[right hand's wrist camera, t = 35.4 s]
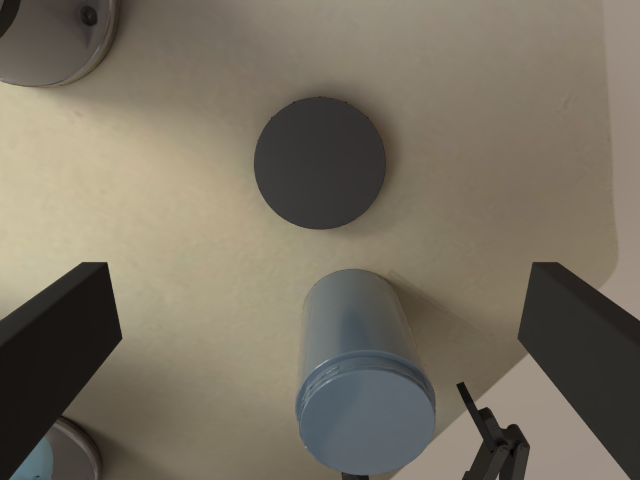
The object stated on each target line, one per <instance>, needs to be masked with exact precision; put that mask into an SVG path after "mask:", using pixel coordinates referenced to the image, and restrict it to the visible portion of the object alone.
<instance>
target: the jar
mask: <svg viewBox="0 0 640 480" xmlns="http://www.w3.org/2000/svg"><path fill="white" fill-rule="evenodd" d="M435 411H436V410H435V394H434V390H433V387H432V385H431V382H430V379H429V377H428V374H427V371H426V369H425V366H424V364H423V361H422V358H421V356H420V353H419V351H418V348H417V345H416V343H415V340H414V337H413V335H412V332H411V330H410V327H409V324H408V322H407V319H406V316H405V314H404V311H403V309H402V306H401V303H400V301H399V298H398V296H397V294H396V292H395V290H394V289H393V287H392V286H391V285H390V284H389V283H388V282H387V281H386V280H384V279H383V278H382V277H380V276H378V275H376V274H374V273H371V272H368V271H364V270H358V269H348V270H342V271H338V272H335V273H332V274H330V275H328V276H326V277H324V278H323V279H321V280H320V281H318V282H317V283H316V284H315V285H314V286H313V288H312V289H311V290H310V291H309V293H308V295H307V297H306V299H305V302H304V305H303V313H302V326H301V339H300V351H299V364H298V377H297V389H296V402H295V412H296V417H297V421H298V424H299V430H300V436H301V438H302V440H303V442H304V444H305V447H306V449H307V450H308V451H309V452H310V453H311V454H312V455H313V456H314V457H315V459H316V460H318V461H319V462H321V463H323V464H324V465H326V466H327V467H330V468H333V469H335V470H337V471H340V472H344V473H348V474H354V475H377V474H382V473H387V472H390V471H393V470H396V469H398V468H401V467H403V466H405V465H406V464H408V463H410V462H411V461H413V460H414V459H415V458H416V457H418V456H419V455H420V454H421V453H422V452H423V450H424V449H425V448H426V447H427V445H428V444H429V442H430V440H431V438H432V435H433V432H434V428H435Z"/></svg>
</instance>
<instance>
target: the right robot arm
mask: <svg viewBox="0 0 640 480" xmlns="http://www.w3.org/2000/svg"><path fill="white" fill-rule="evenodd" d="M119 8H120V0H0V81H2V82H5V83H9V84H12V85H18V86H26V87H55V86H61V85H65V84H69V83H71V82H74V81H76V80H78V79H80V78H82V77H84V76H85V75H87V74H88V73H89V72H91V71H92V70H93V69H94V68H95V67H96V66H97V65H98V64H99V63H100V62H101V61H102V59H103V58H104V56H105V55H106V53H107V52H108V50H109V48H110V46H111V44H112V41H113V39H114V36H115V33H116V29H117V25H118V19H119ZM121 340H122V333H121V329H120V324H119V319H118V314H117V309H116V304H115V299H114V294H113V289H112V284H111V279H110V274H109V269H108V264H107V262H82V263H81V264H79V265H78V266H76V267H75V268H74V269H72V270H71V271H69V272H68V273H67V274H65V275H64V276H62V277H61V278H60V279H58V280H57V281H55V282H54V283H53V284H51V285H50V286H48V287H47V288H46V289H44V290H43V291H41V292H40V293H39V294H37V295H36V296H34V297H33V298H32V299H30V300H29V301H27V302H26V303H25V304H23V305H22V306H20V307H19V308H18V309H16V310H15V311H13V312H12V313H11V314H9V315H8V316H6V317H5V318H4V319H2V320H1V321H0V480H9V479H10V478H11V477H12V475H13V474H14V473H15V472H16V471H17V469H18V468H19V467H20V466H21V464H22V463H23V462H24V461H25V459H26V458H27V457H28V456H29V454H30V453H31V452H32V451H33V449H34V448H35V447H36V446H37V444H38V443H39V442H40V441H41V439H42V438H43V437H44V436H45V434H46V433H47V432H48V431H49V429H50V428H51V427H52V426H53V424H54V423H55V422H56V421H57V419H58V418H59V417H60V416H61V414H62V413H63V412H64V411H65V409H66V408H67V407H68V406H69V404H70V403H71V402H72V401H73V400H74V398H75V397H76V396H77V395H78V393H79V392H80V391H81V390H82V388H83V387H84V386H85V385H86V383H87V382H88V381H89V380H90V378H91V377H92V376H93V375H94V373H95V372H96V371H97V370H98V368H99V367H100V366H101V365H102V363H103V362H104V361H105V360H106V358H107V357H108V356H109V355H110V353H111V352H112V351H113V350H114V348H115V347H116V346H117V345H118V343H119V342H120V341H121ZM518 340H519V341H520V342H521V343H522V345H523V346H524V347H525V348H526V350H527V351H528V352H529V353H530V355H531V356H532V357H533V358H534V360H535V361H536V362H537V363H538V365H539V366H540V367H541V368H542V370H543V371H544V372H545V373H546V375H547V376H548V377H549V378H550V380H551V381H552V382H553V383H554V385H555V386H556V387H557V388H558V390H559V391H560V392H561V393H562V395H563V396H564V397H565V398H566V400H567V401H568V402H569V403H570V404H571V406H572V407H573V408H574V409H575V411H576V412H577V413H578V414H579V416H580V417H581V418H582V419H583V421H584V422H585V423H586V424H587V426H588V427H589V428H590V429H591V431H592V432H593V433H594V434H595V436H596V437H597V438H598V439H599V441H600V442H601V443H602V444H603V446H604V447H605V448H606V449H607V450H608V452H609V453H610V454H611V456H612V457H613V458H614V459H615V460H616V462H617V463H618V464H619V465H620V467H621V468H622V469H623V470H624V472H625V473H626V474H627V475H628V477H629V478H630V479H631V480H640V321H639V320H638V319H636V318H635V317H634V316H632V315H631V314H629V313H628V312H626V311H625V310H624V309H622V308H621V307H620V306H618V305H617V304H615V303H614V302H612V301H611V300H610V299H608V298H607V297H606V296H604V295H603V294H601V293H600V292H599V291H597V290H596V289H594V288H593V287H592V286H590V285H589V284H587V283H586V282H585V281H583V280H582V279H580V278H579V277H578V276H576V275H575V274H573V273H572V272H571V271H569V270H568V269H566V268H565V267H564V266H562V265H561V264H559V263H558V262H533V264H532V269H531V274H530V279H529V284H528V289H527V294H526V299H525V304H524V309H523V314H522V319H521V323H520V328H519V333H518Z"/></svg>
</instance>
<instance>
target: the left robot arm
mask: <svg viewBox="0 0 640 480" xmlns="http://www.w3.org/2000/svg"><path fill="white" fill-rule="evenodd" d="M456 385H457V388H458V390H459V392H460V394H461V396H462V398H463V401H464V403H465V405H466V407H467V409H468V411H469V412H470V414H471V416H472V418H473V420H474V422H475V424H476V426H477V428H478V430H479V432H480V434H481V436H482V438H483V443H482V445H481V447H480V449H479V451H478V453H477V456H476V458H475V460H474V462H473V464H472V466H471V469H470V471H466V472H465V474H464V476H463V478H462V480H495V479H496V477H497V475H498V473H499V471H500V473H499V480H524V475H525V470H526V465H527V460H528V455H529V450H530V445H529V444H528V442H527V440H526V439H525V437H524V435H523V433H522V432H521V430H520V428H519V427H518V425H516V424H511V425H509V426H508V427H507V429H502V428H500V427H499V425H498V423H497V421H496V419H495V417H494V415H493V413H492V411H491V410H490V409H489V408H488V407H486V408H483V409H481V410H477V408H476V406H475V404H474V402H473V400H472V398H471V396H470V394H469V392H468V390H467V388H466V386H465V384H464V382H461V383H459V384H456ZM101 472H102V461H101V457H100V454H99V451H98V449H97V447H96V446H95V444H94V443H93V441H92V440H91V439H90V438H89V436H88V435H87V434H86V433H85V432H83V431H82V430H81V429H80V428H79V427H77V426H76V425H74V424H73V423H71V422H69V421H68V420H66V419H64V418H62V417H59V418H58V419H57V421H56V422H55V423H54V424H53V426H52V427H51V428H50V429H49V431H48V432H47V433H46V434H45V436H44V437H43V438H42V439H41V441H40V442H39V443H38V444H37V446H36V447H35V448H34V449H33V451H32V452H31V453H30V454H29V456H28V457H27V458H26V459H25V461H24V462H23V463H22V464H21V466H20V467H19V468H18V469H17V471H16V472H15V473H14V474H13V475H12V477H11V478H10V479H9V480H99V478H100V476H101ZM342 480H369V476H368V475H354V474H348V473H344V472H342Z"/></svg>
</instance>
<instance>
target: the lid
mask: <svg viewBox="0 0 640 480" xmlns="http://www.w3.org/2000/svg"><path fill="white" fill-rule="evenodd" d="M385 165H386V162H385V152H384V147H383V144H382V140H381V138H380V136H379V134H378V132H377V130H376V129H375V127H374V126H373V124H372V123H371V122H370V121H369V118H368V117H366V116H365V115H364V114H362V113H361V112H360V111H359V110H357V109H356V108H354V107H353V106H351V105H349V104H347V102H345V103H344V102H342V101H339V100H336V99H331V98H321V96H319V98H317V97H316V98H308V99H304V100H301V101H298V102H293V104H291V105H289V106H287V107H285V108H284V109H282V110H281V111H280V112H278V113H277V114H276V115H275V116H274V117H272V118H271V120H270V121H269V122H268V124H267V125H266V127H265V128H264V129H263V131H262V133H261V135H260V137H259V140H258V143H257V146H256V150H255V157H254V171H255V177H256V181H257V184H258V187H259V190H260V192H261V194H262V196H263V197H264V199H265V201H266V202H267V203H268V205H269V206H270V207H271V208H272V209H273V210H274V211H275V212H276V213H277V214H278V215H279V216H281V217H282V218H284V219H285V220H287V221H289V222H290V223H292V224H295V225H297V226H300V227H304V228H309V229H331V228H335V227H339V226H342V225H345V224H347V223H349V222H351V221H353V220H355V219H356V218H357V217H359V216H360V215H362V214H363V213H364V212H365V211H366V210H367V209H368V208H369V207H370V205H371V204H372V203H373V202H374V200H375V198H376V197H377V195H378V193H379V191H380V189H381V186H382V183H383V180H384V175H385V167H386V166H385Z"/></svg>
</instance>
